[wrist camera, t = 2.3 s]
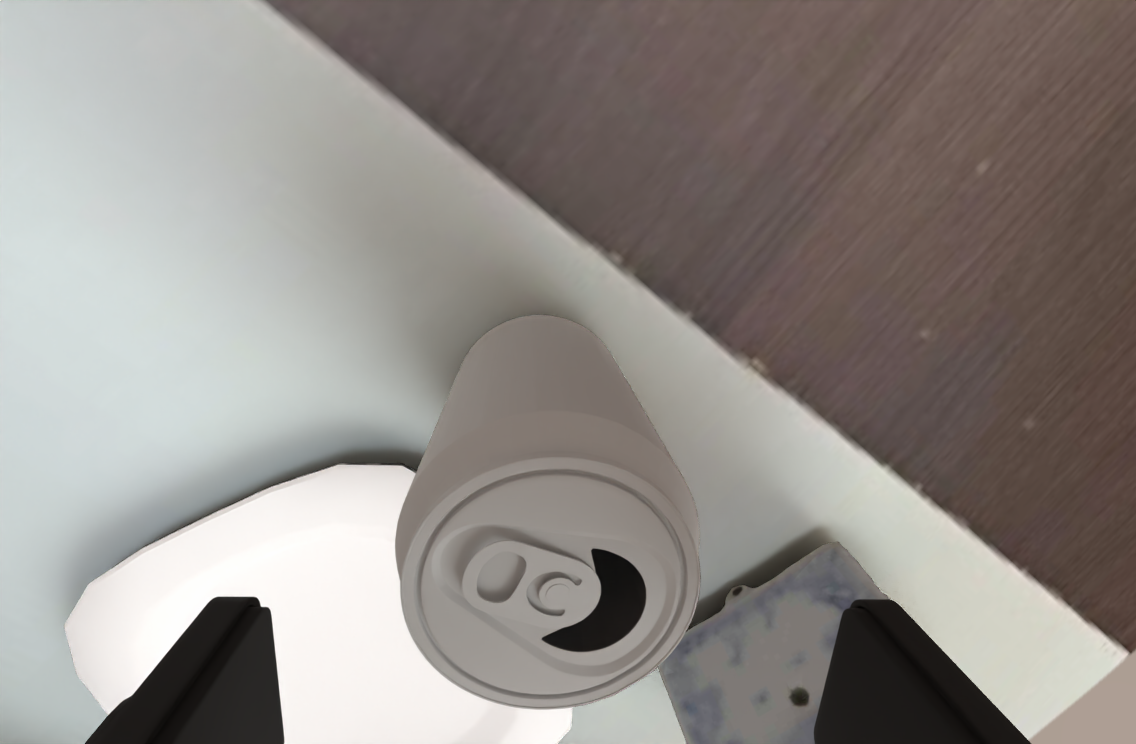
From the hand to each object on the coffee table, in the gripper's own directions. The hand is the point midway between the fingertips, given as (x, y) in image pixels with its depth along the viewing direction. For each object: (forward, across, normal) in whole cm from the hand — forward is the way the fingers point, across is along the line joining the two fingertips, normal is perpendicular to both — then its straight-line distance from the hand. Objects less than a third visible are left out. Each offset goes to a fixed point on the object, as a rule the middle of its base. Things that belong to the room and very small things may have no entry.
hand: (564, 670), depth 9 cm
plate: (+14, +8, +13) cm, 20 cm away
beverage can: (+14, 0, 0) cm, 14 cm away
